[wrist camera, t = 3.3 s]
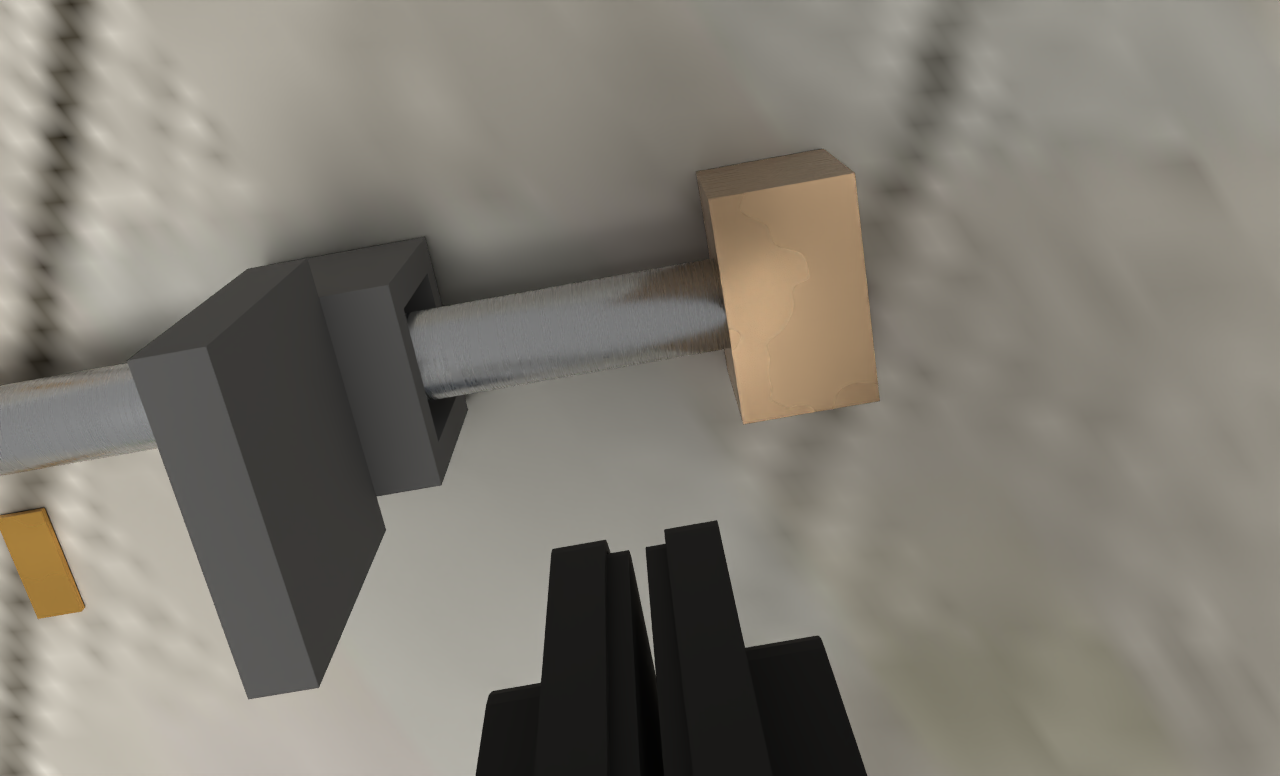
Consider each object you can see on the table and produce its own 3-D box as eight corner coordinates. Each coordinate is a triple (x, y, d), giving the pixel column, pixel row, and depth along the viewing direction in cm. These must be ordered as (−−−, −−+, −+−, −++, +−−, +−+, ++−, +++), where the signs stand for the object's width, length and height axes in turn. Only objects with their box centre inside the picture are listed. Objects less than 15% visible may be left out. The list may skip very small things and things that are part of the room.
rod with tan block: (804, -10, 24) (836, -9, 21) (861, 475, 28) (896, 544, 25) (-430, 223, 25) (-597, 260, 22) (-204, 656, 30) (-315, 746, 26)
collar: (416, 203, 25) (299, 330, 16) (475, 438, 27) (401, 674, 18) (248, 233, 26) (34, 377, 16) (319, 465, 28) (166, 712, 18)
